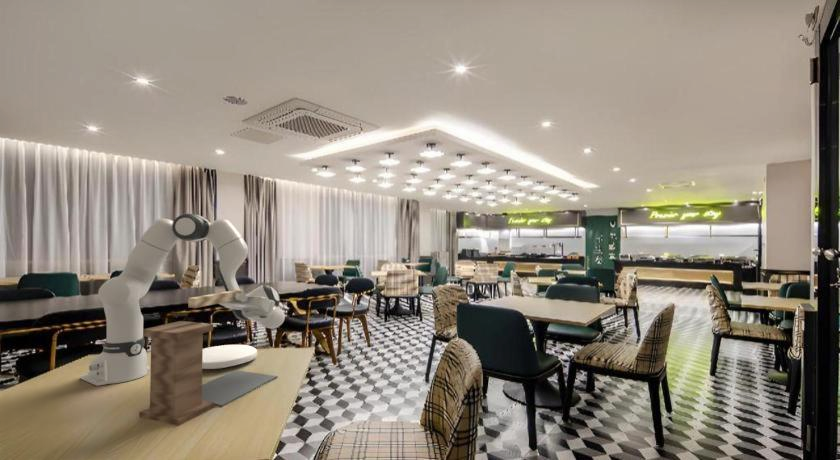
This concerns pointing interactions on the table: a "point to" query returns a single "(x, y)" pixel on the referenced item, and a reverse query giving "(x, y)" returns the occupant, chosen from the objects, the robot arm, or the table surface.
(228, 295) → the rod
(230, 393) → the mat
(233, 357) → the plate
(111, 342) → the robot arm
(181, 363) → the stand
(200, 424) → the table surface
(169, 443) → the table surface
